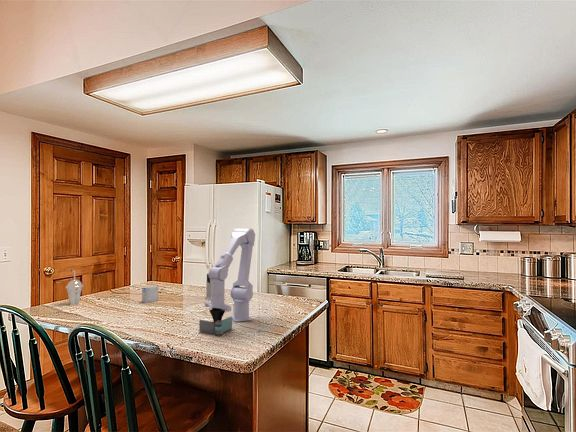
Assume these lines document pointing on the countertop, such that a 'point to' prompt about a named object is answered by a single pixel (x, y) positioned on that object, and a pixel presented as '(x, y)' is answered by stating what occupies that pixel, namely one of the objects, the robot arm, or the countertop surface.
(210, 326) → the fixed steel leaf
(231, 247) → the robot arm
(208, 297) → the grey container
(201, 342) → the countertop surface
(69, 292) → the cup with straw
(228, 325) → the teal swing leaf
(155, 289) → the medicine box
